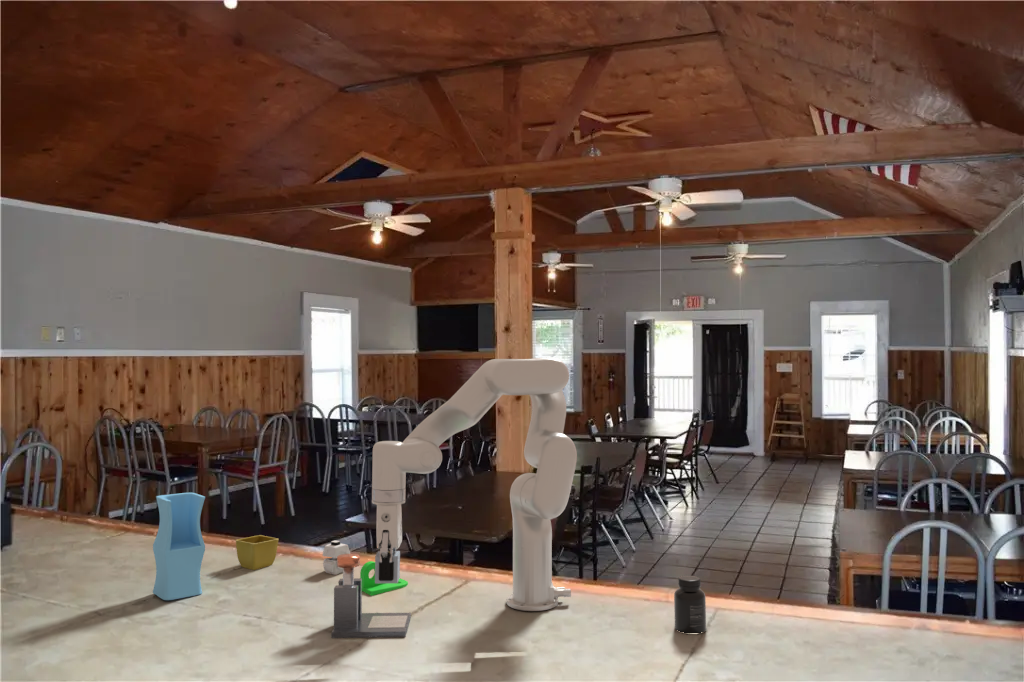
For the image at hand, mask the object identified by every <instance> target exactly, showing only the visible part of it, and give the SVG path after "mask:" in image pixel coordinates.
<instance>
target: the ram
mask: <svg viewBox="0 0 1024 682" xmlns="http://www.w3.org/2000/svg"><path fill="white" fill-rule="evenodd" d="M360 559H361V557H360V554H358V553H350V554H342V555H339V556H337V567H340V568H343V572H342V579H343V585H354V579H355V576H354V575H355V568H357V567H359V566H360V565H361V563H360V561H361V560H360Z"/></svg>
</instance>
